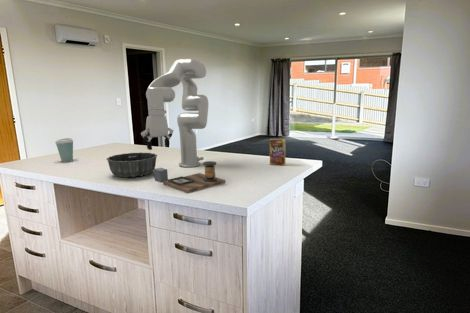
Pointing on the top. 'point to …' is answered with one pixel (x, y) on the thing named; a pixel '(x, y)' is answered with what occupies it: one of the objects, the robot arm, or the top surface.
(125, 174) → the bundt pan
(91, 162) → the top surface
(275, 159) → the candy box
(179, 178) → the winding board
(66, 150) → the disposable coffee cup
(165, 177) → the gray rectangular block
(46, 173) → the top surface
